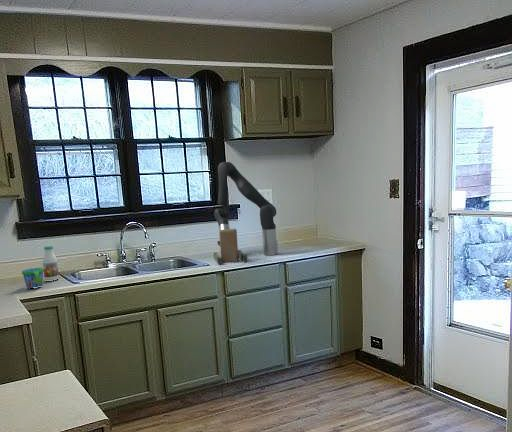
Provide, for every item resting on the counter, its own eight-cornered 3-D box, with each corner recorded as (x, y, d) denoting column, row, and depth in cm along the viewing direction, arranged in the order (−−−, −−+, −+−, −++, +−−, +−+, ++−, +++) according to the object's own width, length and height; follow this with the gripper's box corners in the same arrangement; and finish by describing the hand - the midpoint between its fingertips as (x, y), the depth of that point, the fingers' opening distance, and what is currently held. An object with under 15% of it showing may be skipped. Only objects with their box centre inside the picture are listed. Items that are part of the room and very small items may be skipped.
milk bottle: (42, 281, 268) (38, 247, 266) (55, 278, 273) (51, 245, 272) (48, 282, 263) (45, 247, 261) (61, 279, 268) (58, 245, 267)
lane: (240, 255, 312) (240, 250, 312) (247, 262, 287) (247, 256, 287) (214, 258, 309) (213, 252, 309) (218, 265, 284) (218, 258, 283)
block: (236, 262, 291) (234, 230, 289) (221, 262, 292) (218, 231, 290) (238, 259, 301) (236, 228, 299) (223, 259, 302) (221, 229, 300)
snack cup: (21, 287, 254) (19, 269, 253) (42, 284, 260) (40, 266, 259) (26, 292, 241) (24, 273, 240) (48, 288, 247) (46, 269, 246)
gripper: (215, 229, 308) (218, 250, 298) (235, 227, 311) (239, 248, 300) (215, 236, 314) (218, 257, 303) (234, 234, 317) (238, 255, 306)
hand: (228, 252), depth 302 cm, fingers closed
